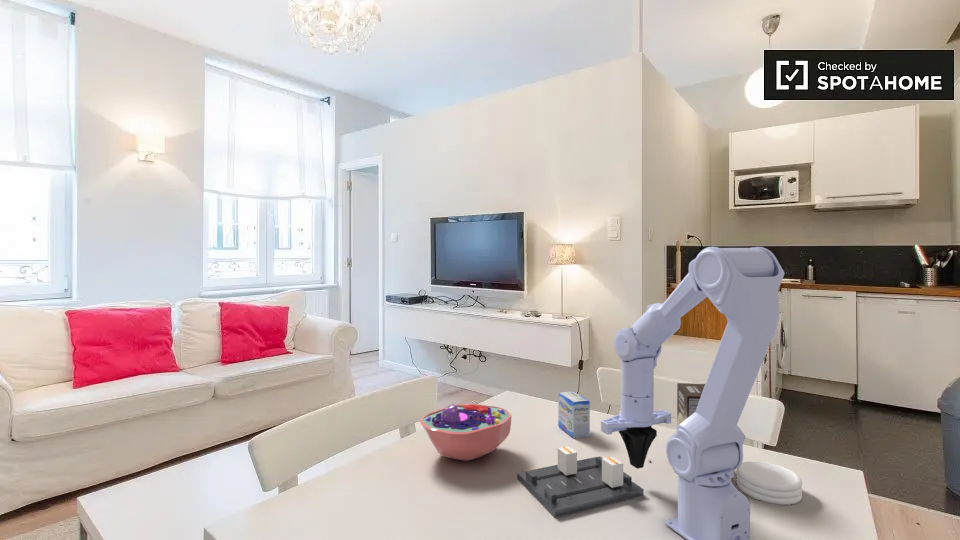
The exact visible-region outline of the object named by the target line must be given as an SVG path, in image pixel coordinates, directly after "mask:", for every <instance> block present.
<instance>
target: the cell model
mask: <svg viewBox="0 0 960 540" xmlns="http://www.w3.org/2000/svg"><path fill="white" fill-rule="evenodd" d="M419 423H420V425H421V426H422V427H423V430H425V432H426V434H427V437H428V438H429V440H430V442H431V444H432V445H433V446H434V447H435V449H436V451H437V453H438V454H439V455H440V456H442V457H444V458H449V459H454V460H458V461H467V462H468V461H471V460H475V459H478V458H481V457H483V456H486V455H487V454H490V453H492V452H494V451H495V449H497V448H498V447H499V446H501V444H503V443H504V442H505V440H506V439H507V438H508V436H509V435H510V433H511V427H512V414H511V412H509V411H508V410H507V409H505V408H502V407H497V406H493V405H492V406H491V405H484V404H480V403H479V404H478V403H465V404H464V403H462V404H460V403H458V404H454V403H452V404H449V405H447V406H446V407H442V408H440V409H437V410H434V411H430V412H429V413H427V414H425V415H424V416H422V417H421V419H420V421H419Z"/></svg>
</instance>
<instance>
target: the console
mask: <svg viewBox="0 0 960 540" xmlns="http://www.w3.org/2000/svg"><path fill="white" fill-rule="evenodd" d="M602 458H603V457H602V456H594V457H589V458H584V459H583V458H582V459H579V460H578V459H577V473H575V474H571V475H565V474H564V473H563V472H561V471H560V470H559V469H558V464H554V465H550V466H549V465H548V466H544V467H539V468H533V469H531V470H524V471H519V472H516V479H517V481H519V483H520V484H522V486H523V487H524V488H525V489H526V490H527V491H528V492H529V493H530V494H531V495H532V496H533V497H534V498H535V499H536V500H537V502H539V503H540V504H541V506H543V507H544V508H545V509H546V510H547V511H548V513H549V514H551V515H552V516H553V518H555V519H557V518H560V517H565V516H568V515H572V514H576V513H580V512H584V511H589V510H591V509H593V510H594V509H596V508H600V507H605V506H609V505H612V504H617V503H619V502H624V501H628V500H629V501H630V500H632V499H637V498H640V497H643V496H645V495H644V493H645V492H644V488H643V487H642V486H640V485H638V484H636V483H635V482H634V481H633V480H632V479H633V477H632V476H631V475H629V474H627V473H626V472H624V471H623V485H622V486H618V487H614V488H612V487H610V486H609V485H608V484H606V483H605V482H604V481H602Z"/></svg>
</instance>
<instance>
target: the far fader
mask: <svg viewBox="0 0 960 540" xmlns="http://www.w3.org/2000/svg"><path fill="white" fill-rule="evenodd" d="M577 461H578V451H576V450H575V449H573V448H572V447H571V446H561V447H558V448H557V465H558V469H559V470H560V471H561V472H563V473H564V474H565V475H571V474H575V473H577Z"/></svg>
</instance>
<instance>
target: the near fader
mask: <svg viewBox="0 0 960 540" xmlns="http://www.w3.org/2000/svg"><path fill="white" fill-rule="evenodd" d="M623 472H624V462H622V461H620V460H619V459H618V458H616V457H614V456H608V457H602V481H604V482H605V483H606V484H608V485H609V486H610V487H612V488H614V487H618V486H622V485H623Z"/></svg>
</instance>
